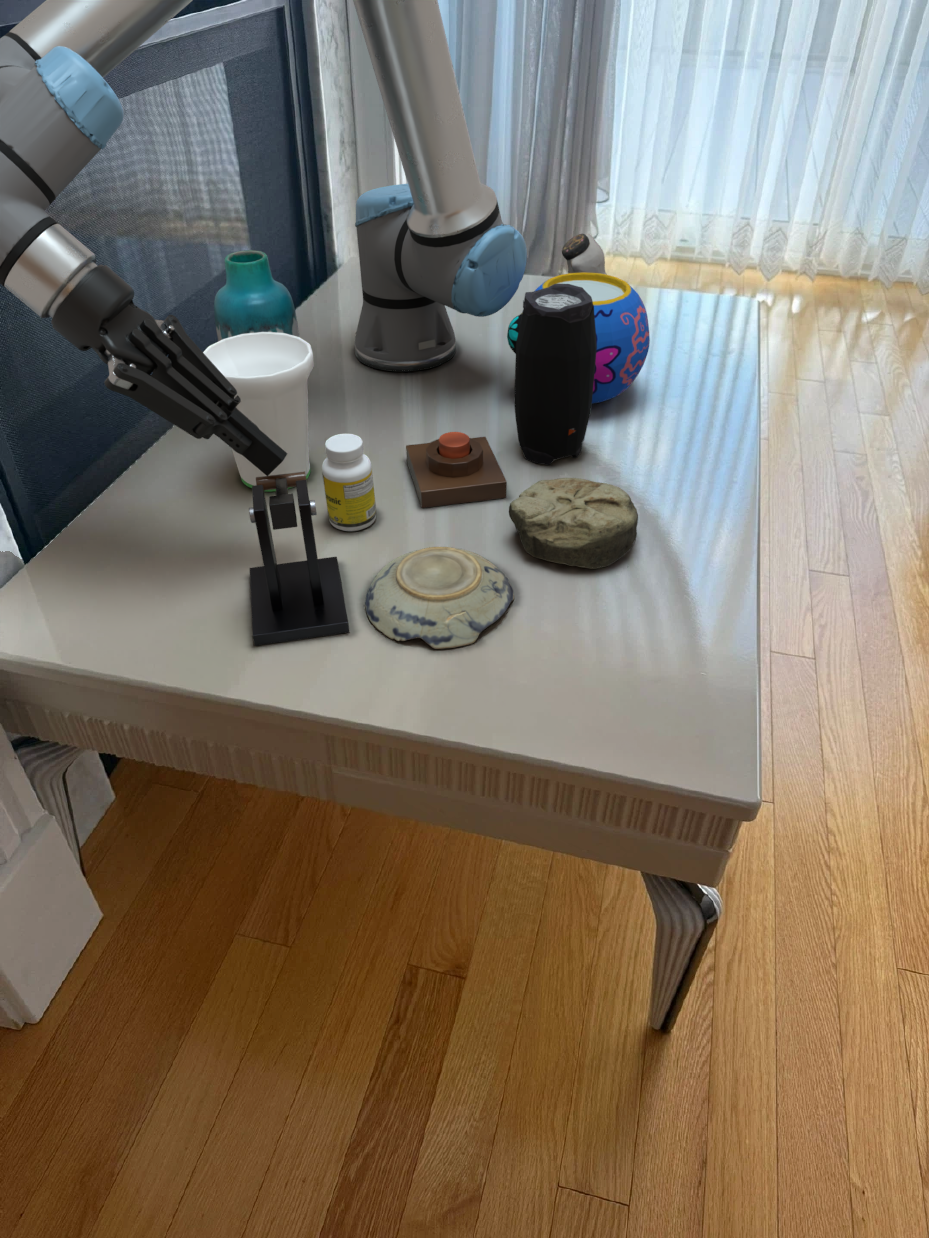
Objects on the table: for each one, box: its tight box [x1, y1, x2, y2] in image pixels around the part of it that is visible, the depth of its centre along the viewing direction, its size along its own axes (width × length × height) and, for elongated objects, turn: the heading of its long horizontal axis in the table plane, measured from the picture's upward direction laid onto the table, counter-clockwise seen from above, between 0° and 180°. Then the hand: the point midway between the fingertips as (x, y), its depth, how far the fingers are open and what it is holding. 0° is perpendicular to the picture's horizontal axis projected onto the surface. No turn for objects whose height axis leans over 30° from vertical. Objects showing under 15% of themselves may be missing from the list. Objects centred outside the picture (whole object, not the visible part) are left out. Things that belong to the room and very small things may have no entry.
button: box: [438, 431, 471, 459], centre depth 105 cm, size 4×4×2 cm
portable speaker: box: [513, 284, 597, 466], centre depth 107 cm, size 9×9×20 cm
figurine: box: [561, 233, 608, 275], centre depth 135 cm, size 9×10×15 cm
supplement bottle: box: [321, 433, 377, 532], centre depth 98 cm, size 5×5×10 cm
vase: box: [213, 249, 300, 342], centre depth 119 cm, size 11×11×19 cm
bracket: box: [248, 480, 350, 647], centre depth 86 cm, size 11×9×13 cm
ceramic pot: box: [506, 272, 651, 405], centre depth 120 cm, size 18×18×15 cm
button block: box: [405, 436, 507, 509], centre depth 107 cm, size 11×10×4 cm
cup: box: [202, 332, 315, 493], centre depth 104 cm, size 12×12×15 cm
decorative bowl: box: [364, 546, 515, 650], centre depth 89 cm, size 15×4×15 cm
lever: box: [256, 472, 307, 531], centre depth 87 cm, size 12×5×2 cm, turn 12°
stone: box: [508, 477, 639, 570], centre depth 97 cm, size 13×13×5 cm
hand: (277, 464), depth 91 cm, fingers closed
